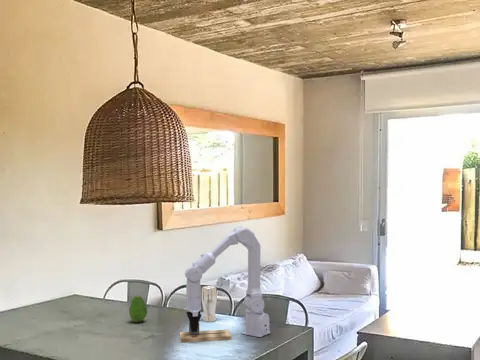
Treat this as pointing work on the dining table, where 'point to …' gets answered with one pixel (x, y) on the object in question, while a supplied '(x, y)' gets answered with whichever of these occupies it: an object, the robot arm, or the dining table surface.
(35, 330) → the dining table surface
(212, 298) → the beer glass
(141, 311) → the avocado
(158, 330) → the dining table surface
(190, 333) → the fader knob
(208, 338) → the fader board
